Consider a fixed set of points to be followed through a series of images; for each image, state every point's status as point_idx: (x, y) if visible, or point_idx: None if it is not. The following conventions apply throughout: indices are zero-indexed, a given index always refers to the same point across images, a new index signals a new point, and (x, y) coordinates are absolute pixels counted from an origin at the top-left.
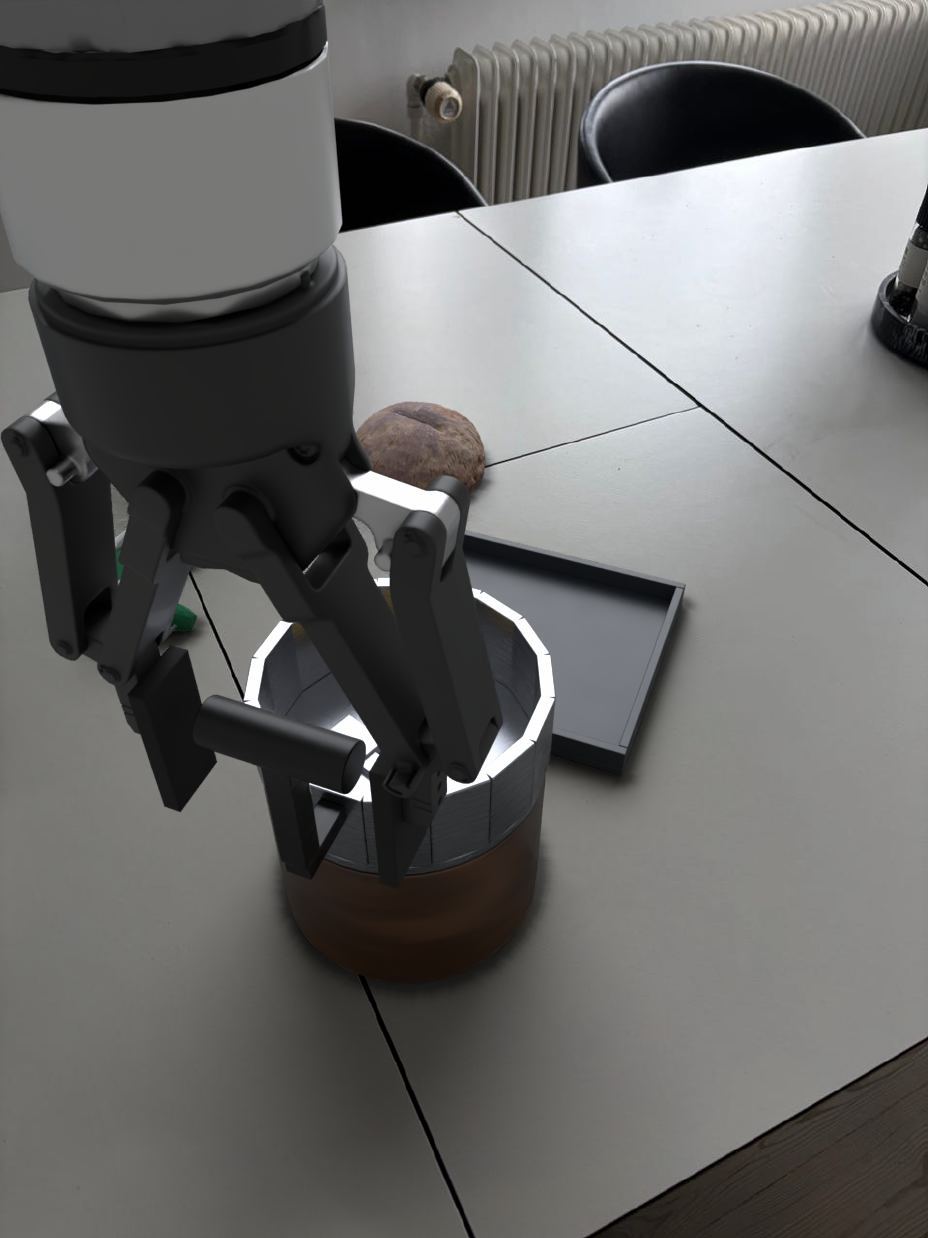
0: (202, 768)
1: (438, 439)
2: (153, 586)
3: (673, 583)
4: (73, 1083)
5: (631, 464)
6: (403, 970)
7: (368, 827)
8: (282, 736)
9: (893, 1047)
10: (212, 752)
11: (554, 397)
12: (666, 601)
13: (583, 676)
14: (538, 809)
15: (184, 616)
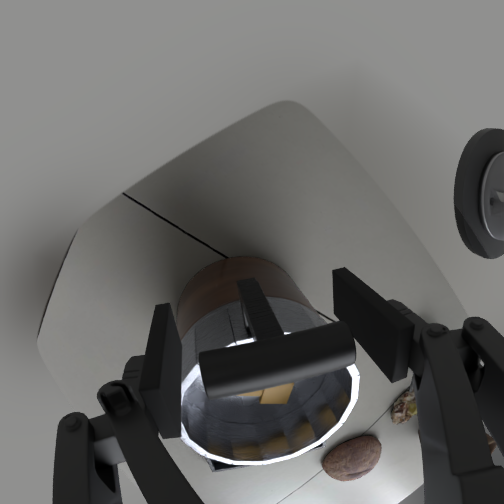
0: (338, 304)
1: (346, 471)
2: (454, 463)
3: (217, 470)
4: (312, 148)
5: (268, 493)
6: (207, 270)
7: (228, 328)
8: (271, 371)
9: (39, 340)
10: (339, 318)
11: (313, 496)
12: (216, 462)
13: None
14: None
15: None
